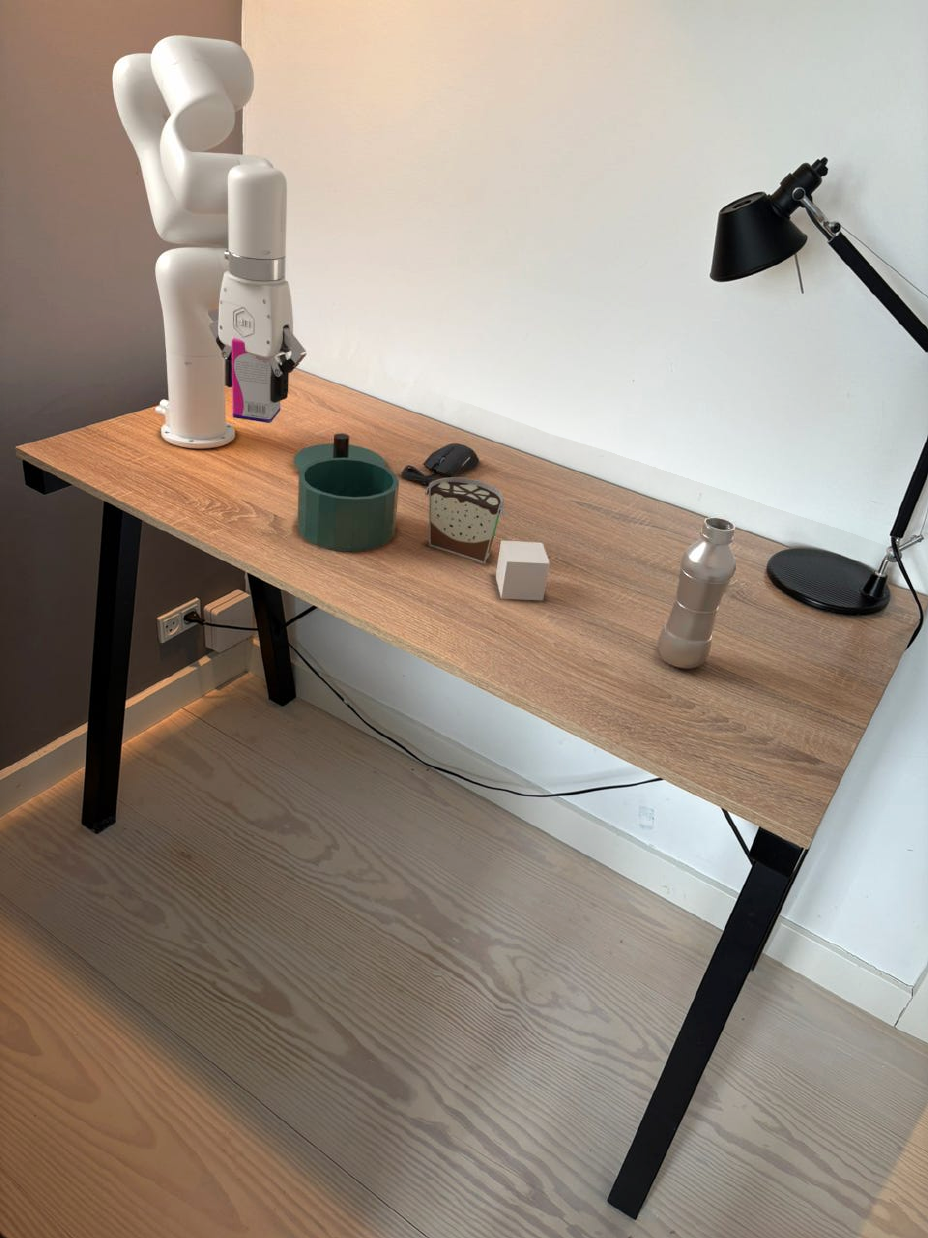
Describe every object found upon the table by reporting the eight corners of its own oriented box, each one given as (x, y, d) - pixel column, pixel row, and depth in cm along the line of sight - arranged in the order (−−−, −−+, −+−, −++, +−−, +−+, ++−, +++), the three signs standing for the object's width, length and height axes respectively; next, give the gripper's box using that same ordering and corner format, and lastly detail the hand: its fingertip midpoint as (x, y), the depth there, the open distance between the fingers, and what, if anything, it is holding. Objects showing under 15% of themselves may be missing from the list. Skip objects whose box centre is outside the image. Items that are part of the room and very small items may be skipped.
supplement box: (281, 409, 141) (283, 333, 134) (270, 424, 136) (271, 345, 129) (243, 403, 141) (243, 327, 134) (231, 417, 136) (230, 339, 130)
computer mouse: (512, 475, 167) (515, 454, 165) (451, 501, 155) (453, 479, 153) (458, 453, 173) (461, 432, 171) (396, 477, 161) (397, 455, 159)
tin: (277, 530, 140) (278, 478, 135) (335, 498, 151) (337, 449, 147) (359, 561, 135) (362, 508, 130) (412, 526, 146) (417, 476, 142)
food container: (510, 550, 143) (519, 490, 138) (494, 566, 138) (503, 505, 133) (438, 527, 147) (444, 468, 141) (420, 542, 142) (426, 482, 136)
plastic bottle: (648, 645, 125) (684, 510, 114) (697, 647, 126) (737, 513, 115) (661, 673, 119) (700, 534, 109) (711, 676, 120) (755, 538, 110)
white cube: (495, 577, 136) (500, 540, 132) (535, 579, 136) (542, 542, 133) (501, 598, 131) (507, 561, 127) (542, 600, 131) (549, 563, 128)
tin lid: (275, 468, 158) (275, 436, 155) (329, 442, 170) (330, 412, 167) (352, 495, 153) (353, 462, 150) (402, 466, 165) (404, 436, 162)
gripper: (188, 256, 127) (192, 382, 137) (291, 286, 121) (288, 416, 131) (225, 249, 133) (227, 370, 142) (326, 277, 127) (320, 402, 136)
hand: (256, 391), depth 136 cm, fingers closed on supplement box, 7 cm apart
